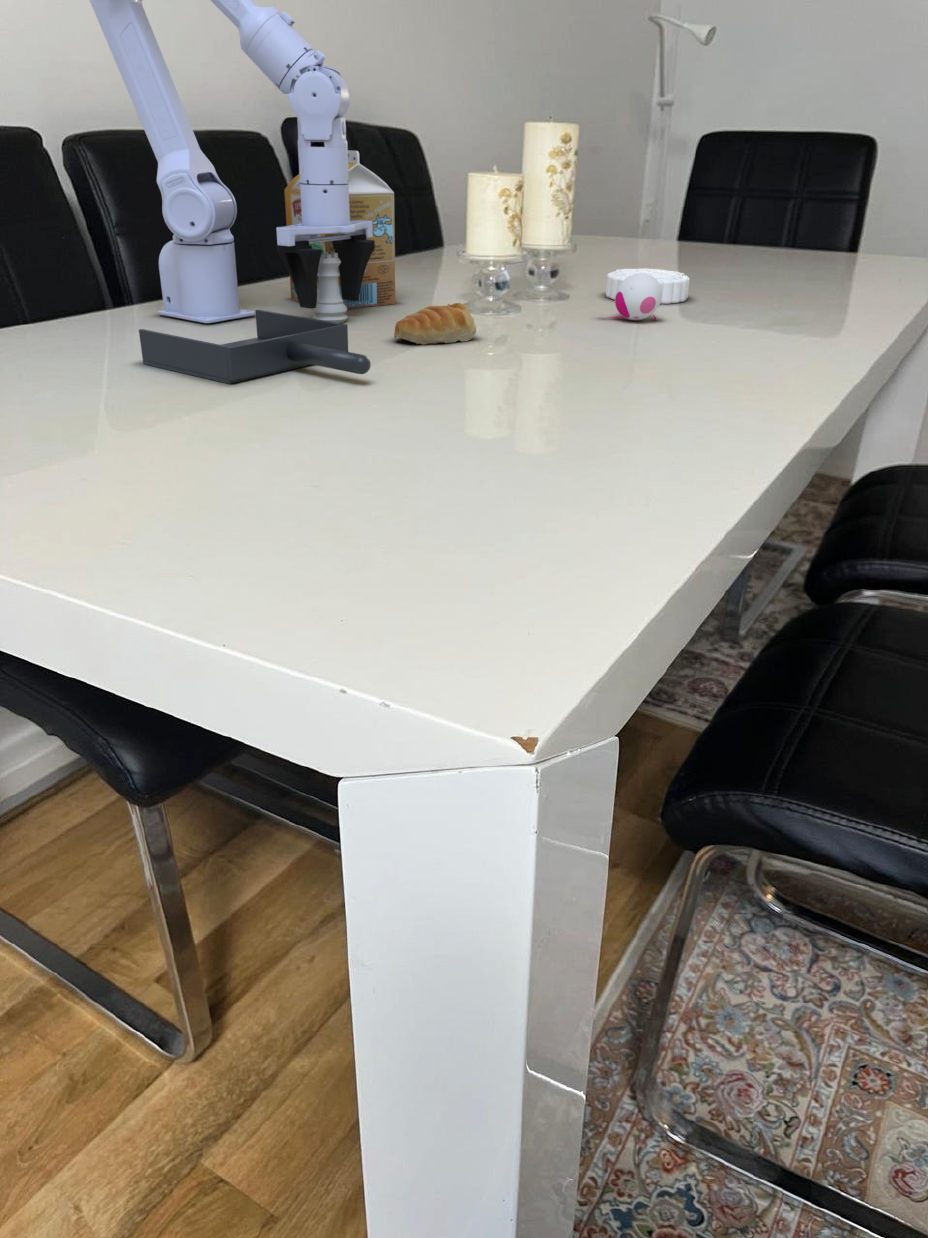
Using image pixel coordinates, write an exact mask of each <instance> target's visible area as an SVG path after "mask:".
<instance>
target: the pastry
mask: <svg viewBox="0 0 928 1238" xmlns="http://www.w3.org/2000/svg"><path fill="white" fill-rule="evenodd" d="M476 333H477V326H476V323H475V319H474V318H473V316H472V315H471V310H470V308H469V307H468V306H467V305H465V304H464V303H461V302H455V303H452V304H450V303H448V304H447V305H429V306H427V307H424V308H421V309H420V310H417V312H415V313H412V314H408V315H406V316H405V317H404V318H402V319H401V320H398V321H397V322H396V323H395V325H394V333H393V336H394V338H395V339H396V338H399V339H403V340H405V341H408V342H411V343H415V344H416V345H418V344H420V345H422V346H423V345H424V346H425V345H427V344H439V343H445V344H449V343H456V342H457V341H460V342H468V341H470V340H472V339H474V336H475V335H476Z"/></svg>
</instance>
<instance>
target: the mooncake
mask: <svg viewBox="0 0 928 1238" xmlns="http://www.w3.org/2000/svg"><path fill="white" fill-rule="evenodd" d="M637 273H645V274H649V275H651V276H653V277H654V278H655V279H656V280H657V281H658V282H659V284H660V286H661V289H662V299H661V302H660V305H670V304H679V303H684V302H685V301H686V300H688V299H689V290H690V284H691V283H690V281H691V278H690V277H689V276H688V275H685V273H684V272H680V271H676V270H675V271H674V270H667V269H661V268H647V267H643V268H621V269H615V271H610V272H609V273H607V275H606V282H605V296H606V298H608V299H611V300H614V301H615V294H616V290H617V288H618V286H619V285H620V284H621V282H622V281H623V280H624V279H626V278H627V277H629V276H631V275H633V274H637Z"/></svg>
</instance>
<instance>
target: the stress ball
mask: <svg viewBox="0 0 928 1238" xmlns="http://www.w3.org/2000/svg"><path fill="white" fill-rule="evenodd" d="M661 299H662V289H661V286H660V284H659V282H658V281H657V280H656V279H655V278H654V277H653V276H651V275H649V274H645V273H637V274H633V275H631V276H629V277H627V278H626V279H624V280H623V281H622V282H621V284H620V285H619V286H618V288H617V290H616V294H615V300H614V305H615V308H616V310H617V312H618V313H619V315H621V316H608V318H611V319H613V318H614V319H627V320H629V321H642V320H645V319H647V318H649V317H651V316H653V320H654V321H656V322H658V318H657V317H656V316H655V315H654V313H655V312H656V311H657V310H658V308H659V307H660V305H661V304H660V302H661Z"/></svg>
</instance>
